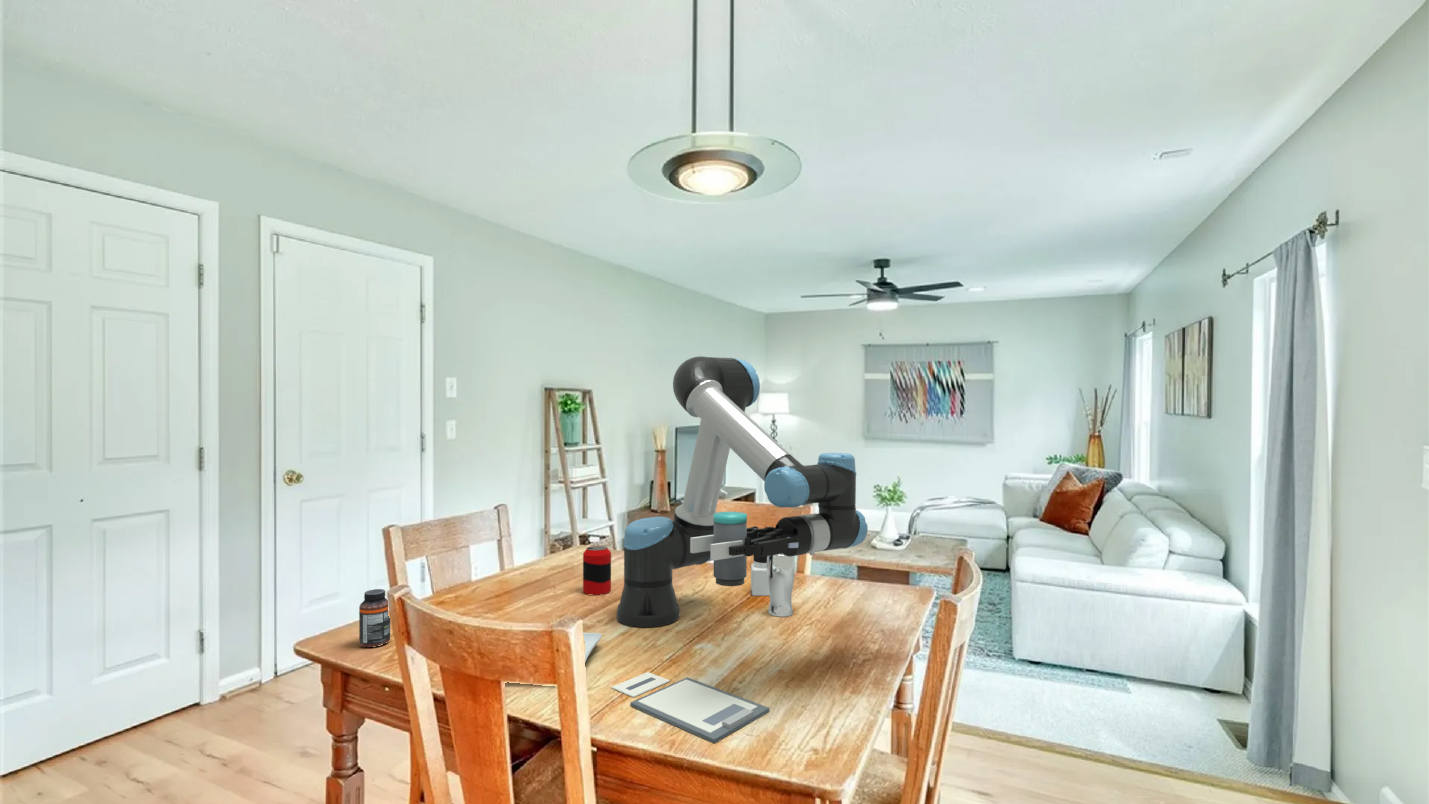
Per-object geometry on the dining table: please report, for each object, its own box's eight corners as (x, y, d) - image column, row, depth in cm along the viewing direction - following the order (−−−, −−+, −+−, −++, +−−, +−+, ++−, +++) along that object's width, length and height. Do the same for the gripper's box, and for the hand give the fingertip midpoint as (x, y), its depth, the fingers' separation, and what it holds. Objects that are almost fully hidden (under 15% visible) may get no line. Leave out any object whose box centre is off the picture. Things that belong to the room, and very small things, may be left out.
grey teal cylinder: (706, 582, 121) (706, 514, 121) (728, 576, 125) (728, 510, 125) (732, 588, 117) (732, 518, 117) (753, 582, 121) (753, 514, 121)
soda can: (584, 588, 186) (584, 545, 186) (611, 587, 187) (611, 544, 187) (581, 596, 178) (581, 551, 178) (610, 595, 179) (610, 550, 179)
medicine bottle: (778, 596, 178) (778, 551, 178) (752, 596, 178) (752, 551, 178) (776, 588, 185) (776, 545, 186) (750, 588, 186) (750, 545, 186)
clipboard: (630, 705, 113) (630, 698, 113) (687, 680, 123) (687, 673, 123) (714, 743, 100) (714, 734, 100) (769, 711, 111) (769, 703, 111)
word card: (611, 688, 120) (611, 686, 120) (647, 673, 127) (647, 671, 127) (633, 697, 116) (633, 696, 116) (670, 681, 123) (670, 680, 123)
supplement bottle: (363, 640, 144) (363, 588, 144) (393, 638, 146) (393, 586, 146) (355, 650, 139) (355, 596, 139) (386, 647, 140) (387, 593, 140)
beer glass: (793, 618, 160) (793, 556, 160) (764, 616, 161) (764, 554, 161) (795, 609, 166) (795, 549, 166) (768, 607, 168) (768, 548, 168)
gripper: (834, 563, 122) (731, 582, 109) (770, 545, 138) (674, 559, 125) (834, 523, 122) (732, 536, 110) (770, 509, 138) (674, 519, 125)
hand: (701, 548), depth 117 cm, fingers closed on grey teal cylinder, 6 cm apart
